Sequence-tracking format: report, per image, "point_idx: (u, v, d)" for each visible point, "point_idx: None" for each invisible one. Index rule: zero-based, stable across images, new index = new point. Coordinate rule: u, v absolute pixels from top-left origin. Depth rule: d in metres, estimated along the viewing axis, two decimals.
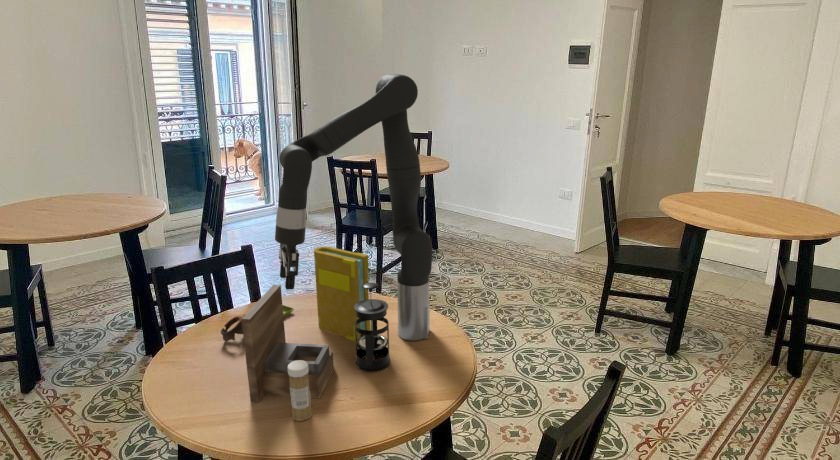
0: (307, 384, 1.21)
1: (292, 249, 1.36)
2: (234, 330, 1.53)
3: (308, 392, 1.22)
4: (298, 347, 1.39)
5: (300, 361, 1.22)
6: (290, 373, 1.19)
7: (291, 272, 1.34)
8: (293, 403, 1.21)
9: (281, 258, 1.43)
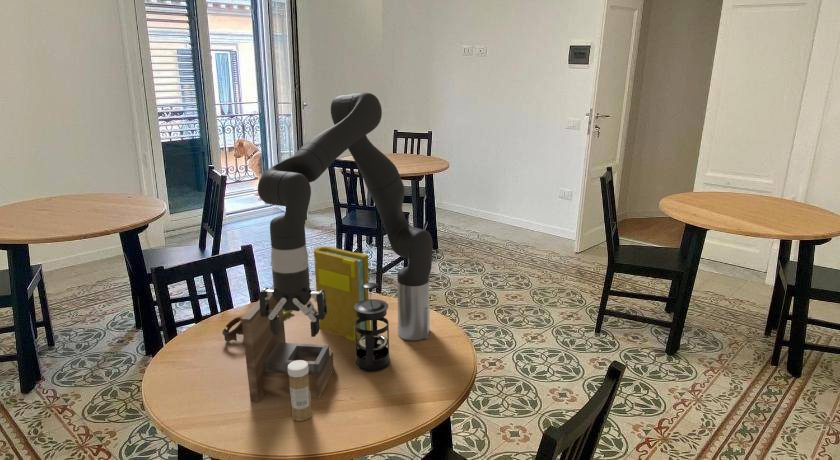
0: (307, 384, 1.21)
1: (308, 290, 1.15)
2: (236, 330, 1.53)
3: (308, 392, 1.22)
4: (298, 347, 1.39)
5: (300, 361, 1.22)
6: (290, 373, 1.19)
7: None
8: (293, 403, 1.21)
9: (278, 311, 1.15)
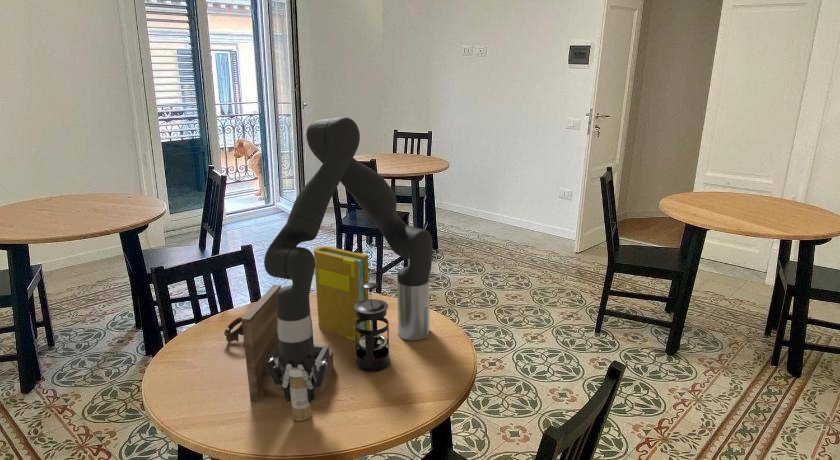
0: None
1: (313, 356, 1.19)
2: (238, 331, 1.53)
3: None
4: None
5: None
6: (290, 373, 1.19)
7: None
8: (293, 403, 1.21)
9: (289, 378, 1.20)
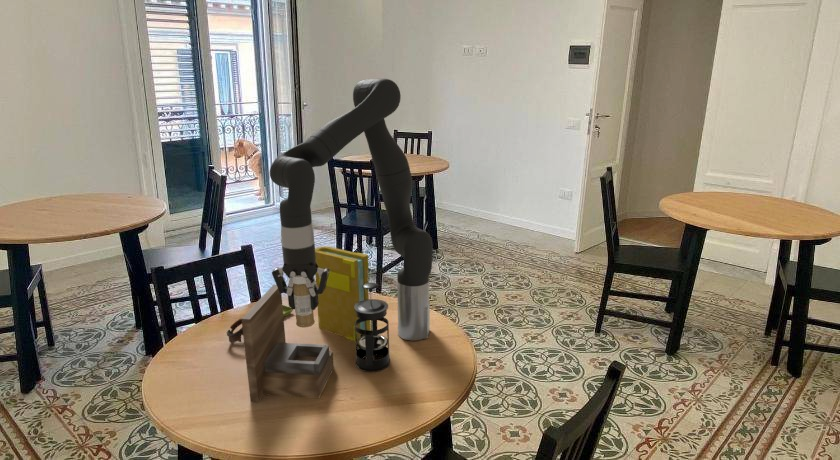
0: None
1: None
2: (240, 332, 1.52)
3: None
4: (298, 347, 1.39)
5: None
6: (293, 280, 1.27)
7: None
8: (297, 310, 1.29)
9: None
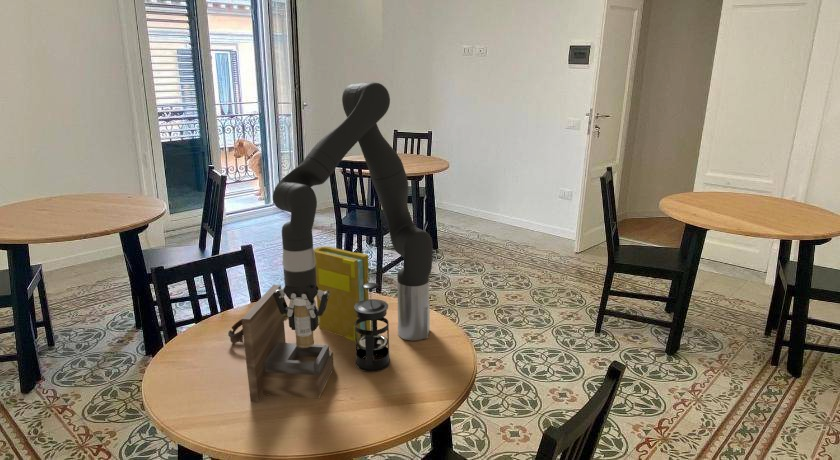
0: None
1: (315, 287, 1.30)
2: (242, 332, 1.52)
3: None
4: (298, 347, 1.39)
5: None
6: (294, 302, 1.29)
7: None
8: (297, 331, 1.32)
9: (293, 307, 1.31)
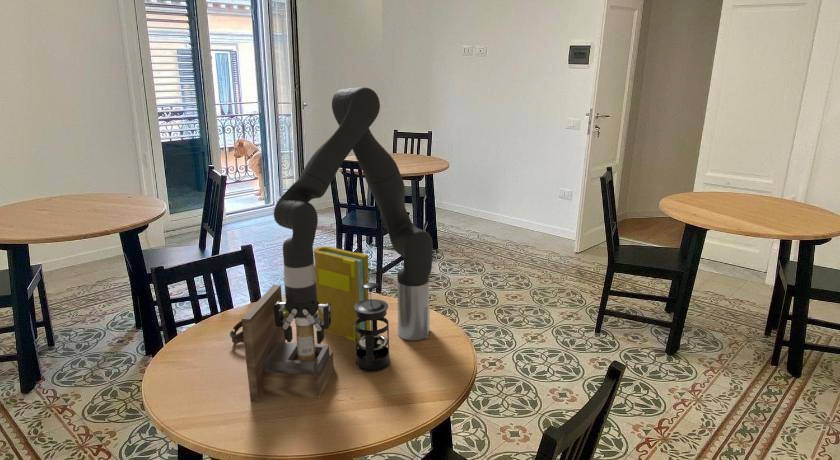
0: (312, 333, 1.33)
1: (316, 302, 1.31)
2: None
3: (313, 341, 1.34)
4: None
5: None
6: (297, 322, 1.31)
7: None
8: (299, 350, 1.33)
9: (291, 321, 1.32)
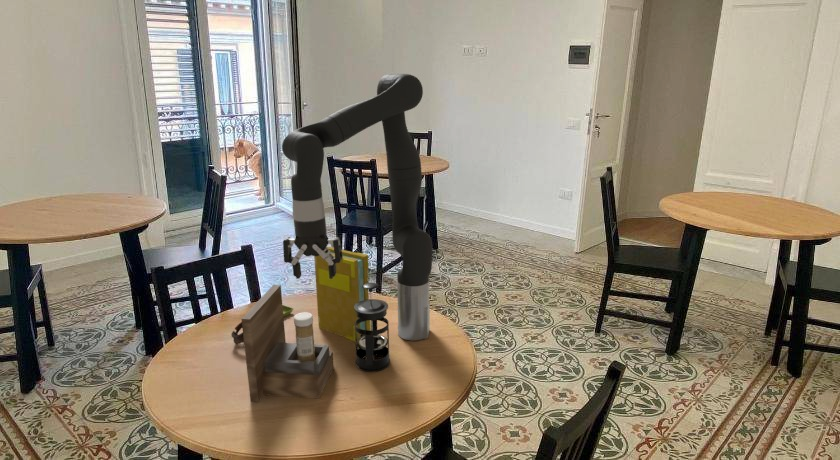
0: (311, 334, 1.33)
1: (326, 237, 1.32)
2: None
3: (312, 341, 1.34)
4: None
5: (305, 313, 1.34)
6: (296, 323, 1.31)
7: None
8: (299, 351, 1.33)
9: (300, 257, 1.32)
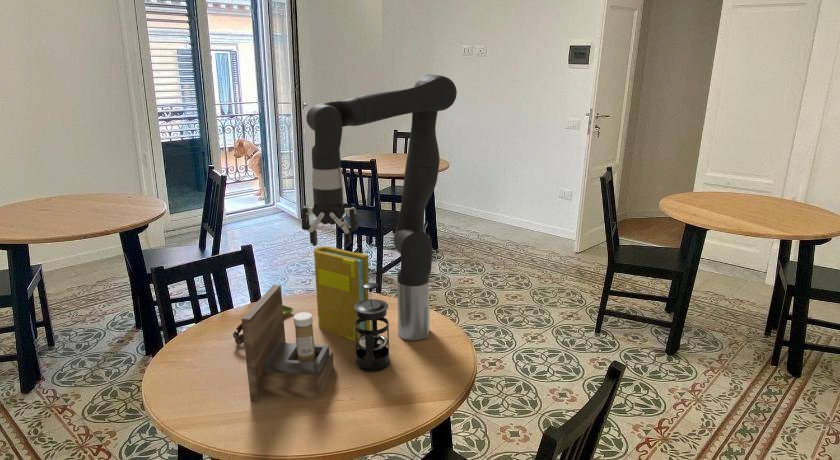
0: (311, 333, 1.33)
1: (342, 207, 1.38)
2: None
3: (312, 341, 1.34)
4: None
5: (305, 313, 1.34)
6: (296, 323, 1.31)
7: None
8: (299, 351, 1.33)
9: (317, 225, 1.39)
